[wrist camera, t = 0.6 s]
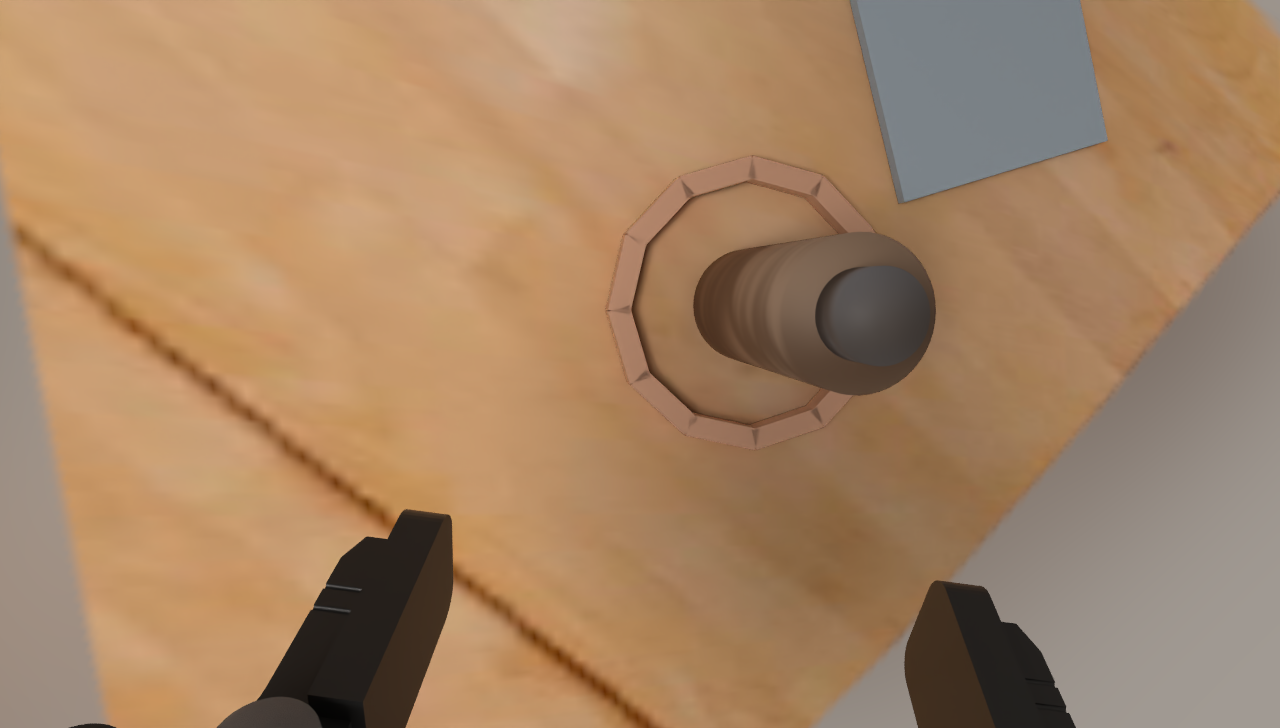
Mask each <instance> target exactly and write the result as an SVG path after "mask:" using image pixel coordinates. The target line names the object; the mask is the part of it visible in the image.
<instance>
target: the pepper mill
mask: <svg viewBox="0 0 1280 728" xmlns="http://www.w3.org/2000/svg"><path fill="white" fill-rule="evenodd" d="M693 308H694V316H695V321H696V324H697V327H698V329H699V331H700V333H701V335H702V336H703V338H704V339H705V341H706V342H707V343H708V344H709V345H710V346H711V347H712V348H713V349H714V350H716V351H717V352H719V353H720V354H722V355H724V356H727V357H729V358H732V359H735V360H738V361H741V362H744V363H747V364H750V365H754V366H757V367H760V368H763V369H766V370H769V371H772V372H775V373H778V374H781V375H784V376H787V377H790V378H793V379H796V380H799V381H802V382H805V383H808V384H811V385H814V386H817V387H820V388H823V389H826V390H829V391H833V392H836V393H839V394H845V395H867V394H872V393H876V392H880V391H882V390H885V389H887V388H889V387H891V386H893V385H894V384H896V383H898V382H899V381H901V380H902V379H903V378H904V377H906V376H907V375H908V374H909V373H910V372H911V371H912V370H913V369H914V368H915V366H916V365H917V364H918V363H919V361H920V360H921V358H922V357H923V355H924V353H925V352H926V349H927V347H928V345H929V343H930V340H931V337H932V334H933V329H934V324H935V314H936V308H935V297H934V292H933V288H932V285H931V281H930V279H929V277H928V275H927V272H926V271H925V269H924V267H923V266H922V264H921V262H920V261H919V260H918V259H917V258H916V256H915V255H914V254H913V253H912V252H911V251H910V250H909V249H907V248H906V247H905V246H903V245H902V244H901V243H899V242H897V241H896V240H894V239H892V238H890V237H887V236H884V235H881V234H877V233H872V232H851V233H844V234H838V235H832V236H825V237H819V238H813V239H806V240H800V241H794V242H787V243H781V244H775V245H768V246H762V247H756V248H749V249H743V250H737V251H733V252H730V253H728V254H725V255H723V256H722V257H720V258H718V259H717V260H716V261H714V262H713V263H712V264H711V265H710V266H709V267H708V268H707V269H706V271H705V272H704V273H703V275H702V277H701V278H700V280H699V282H698V285H697V287H696V291H695V295H694V305H693Z"/></svg>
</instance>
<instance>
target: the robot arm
mask: <svg viewBox="0 0 1280 728" xmlns="http://www.w3.org/2000/svg"><path fill="white" fill-rule="evenodd" d="M452 590H453V549H452V520H451V516H450V515H446V514H439V513H431V512H423V511H416V510H408V509H406V510H404V511H403V512H402V513H401V514H400V516H399V518H398V520H397V522H396V524H395V526H394V528H393V530H392V532H391V533H390V535H389V537H388V539H382V538H374V537H366V538H364V539H363V540H362V541H361V542H359V543H358V544H357V545H356V546H355V547H353V548H352V549H351V550H350V551H348V552H347V553H346V554H345V555H344V556H342V557H341V559H340V560H339V562H338V564H337V565H336V567H335V569H334V571H333V572H332V574H331V576H330V578H329V579H328V581H327V583H326V587H325V589H323V590H322V591H321V593H320V595H319V597H318V598H317V600H316V602H315V604H314V608H313V610H311V611H310V612H309V614H308V616H307V617H306V619H305V621H304V623H303V624H302V626H301V628H300V630H299V631H298V633H297V635H296V637H295V638H294V640H293V642H292V643H291V645H290V647H289V649H288V650H287V652H286V654H285V656H284V657H283V659H282V661H281V663H280V664H279V666H278V668H277V669H276V671H275V673H274V675H273V676H272V678H271V680H270V682H269V683H268V685H267V687H266V689H265V690H264V691H263V693H262V694H261V696H260V697H259V698H258V700H257V701H255V702H252V703H250V704H248V705H246V706H243V707H242V708H240V709H238V710H237V711H235V712H233V713H232V714H231V715H230V716H228V717H227V718H226V719H225V720H224V721H223V722H222V723H221V724H220V725H219V726H218V727H217V728H405V727H406V725H407V722H408V719H409V717H410V714H411V711H412V709H413V706H414V703H415V701H416V698H417V695H418V693H419V690H420V687H421V685H422V682H423V679H424V677H425V674H426V671H427V669H428V666H429V663H430V661H431V658H432V655H433V653H434V650H435V647H436V645H437V642H438V639H439V637H440V634H441V631H442V629H443V626H444V623H445V620H446V618H447V614H448V611H449V607H450V602H451V597H452ZM905 678H906V683H907V687H908V690H909V694H910V698H911V702H912V705H913V710H914V713H915V717H916V721H917V725H918V728H1076V727H1075V725H1074V723H1073V720H1072V718H1071V716H1070V714H1069V713H1066V705H1065V703H1064V701H1063V699H1062V696H1061V694H1060V692H1059V690H1058V688H1055V686H1054V683H1055V681H1054V679H1053V677H1052V675H1051V672H1050V671H1049V668H1048V666H1047V664H1046V662H1045V659H1044V657H1043V655H1042V653H1041V651H1040V650H1039V649H1038V648H1037V647H1036V646H1035V644H1034V643H1033V642H1032V641H1031V640H1030V639H1029V638H1028V637H1027V635H1026V634H1025V633H1024V632H1023V631H1022V630H1021V629H1020V628H1019V627H1018V625H1017V624H1014V623H1005V622H1001V620H1000V618H999V616H998V613H997V611H996V609H995V606H994V604H993V601H992V600H991V597H990V595H989V593H988V591H987V590H986V589H985V588H984V587H982V586H975V585H968V584H960V583H953V582H945V581H934V582H933V583H932V584H931V586H930V588H929V590H928V593H927V595H926V598H925V600H924V602H923V605H922V607H921V610H920V612H919V615H918V617H917V620H916V622H915V625H914V627H913V630H912V632H911V635H910V637H909V640H908V642H907V646H906V651H905ZM70 728H116V727H113V726H110V725H105V724H84V725H78V726H74V727H70Z"/></svg>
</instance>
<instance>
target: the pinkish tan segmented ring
mask: <svg viewBox="0 0 1280 728" xmlns="http://www.w3.org/2000/svg"><path fill="white" fill-rule="evenodd" d="M822 176H823V175H821V174H817V173H813V172H810V171H806V170H803V169H799V168H796V167H792V166H789V165H785V164H781V163H778V162H774V161H771V160H767V159H764V158H760V157H757V156H748V157H744V158H741V159H737V160H734V161H730V162H727V163H723V164H720V165H716V166H713V167H710V168H706V169H703V170H699V171H696V172H692V173H689V174H685V175H682V176H679V177H678V178H676V179H675V180H673V181H672V182H671V184H670V185H669V186H668V187H667V188H666V189H665V190H664V191H663V192H662V193H661V194H660V195H659V196H658V198H657V199H656V200H655V201H654V202H653V203H652V204H651V205H650V206H649V207H648V208H647V209H646V210H645V211H644V213H643V214H642V215H641V216H640V217H639V218H638V219H637V220H636V221H635V222H634V223H633V224H632V225H631V226H630V228H629V229H628V230H627V231H626V232H625V233H624V234H623V236H622V239H621V244H620V248H619V252H618V257H617V261H616V265H615V270H614V274H613V278H612V283H611V287H610V291H609V296H608V300H607V304H606V309H607V311H606V314H607V318H608V321H609V324H610V328H611V331H612V334H613V338H614V341H615V344H616V348H617V351H618V354H619V358H620V361H621V364H622V368H623V371H624V374H625V377H626V381H627V382H628V384H629V385H630V386H632V387H633V388H634V389H635V390H636V391H637V392H638V393H639V394H640V395H641V396H642V397H643V398H644V399H646V400H647V401H648V402H649V403H650V404H651V405H652V406H653V407H654V408H655V409H656V410H657V411H659V412H660V413H661V414H662V415H663V416H664V417H665V418H666V419H667V420H668V421H669V422H670V423H671V424H673V425H674V426H675V427H676V428H677V429H678V430H679V431H680V432H681V433H682V434H684V435H685V436H689V437H694V438H699V439H703V440H708V441H713V442H718V443H723V444H727V445H732V446H737V447H742V448H747V449H751V450H755V449H756V450H759V449H761V448H764V447H767V446H770V445H773V444H776V443H779V442H782V441H785V440H788V439H791V438H794V437H797V436H800V435H803V434H806V433H809V432H812V431H815V430H818V429H820V428H823V426H826V425H827V424H828V423H829V421H830V420H831V419H832V418H833V417H834V416H835V415H836V414H837V413H838V412H839V410H840V409H841V408H842V407H843V406H844V405H845V404H846V403H847V402H848V400H849V399H850V398H851V397H852V396H853V395H845V394H839V393H836V392H833V391H829V390H826V389H823V388H822V389H821V390H820V391H819V392H818V393H817V394H816V395H815V396H814V397H813V398H812V400H811V401H810V402H809V403H808V404H807V405H806V406H804V407H801V408H798V409H795V410H792V411H789V412H786V413H783V414H780V415H777V416H774V417H771V418H768V419H765V420H762V421H759V422H756V423H753V424H750V425H748V424H743V423H739V422H734V421H729V420H725V419H720V418H715V417H711V416H706V415H701V414H697V413H692V412H691V411H690V410H689V409H688V408H687V407H686V406H685V405H684V404H682V403H681V402H680V401H679V400H678V399H677V398H676V397H675V396H674V395H673V394H672V393H671V392H670V391H669V390H668V389H666V388H665V387H664V386H663V385H662V384H661V383H660V382H659V381H658V380H657V379H656V378H655V377H654V376H653V375H651V374H650V373H649V369H648V366H647V363H646V359H645V356H644V352H643V349H642V346H641V342H640V339H639V336H638V332H637V329H636V325H635V322H634V319H633V315H632V312H631V307H632V303H633V299H634V295H635V290H636V286H637V282H638V277H639V273H640V269H641V265H642V260H643V256H644V252H645V247H646V245H647V243H648V242H649V241H650V240H651V239H652V238H653V237H654V236H655V235H656V234H657V233H658V232H659V231H660V230H661V228H662V227H663V226H664V225H665V224H666V223H667V222H668V221H669V220H670V219H671V218H672V217H673V216H674V214H675V213H676V212H677V211H678V210H679V209H680V208H681V207H682V206H683V205H684V204H685V203H686V202H687V200H688V199H689V198H692V197H695V196H699V195H702V194H706V193H709V192H712V191H716V190H719V189H723V188H726V187H730V186H733V185H736V184H740V183H743V182H749V183H752V184H756V185H760V186H763V187H767V188H770V189H774V190H778V191H781V192H785V193H789V194H792V195H796V196H800V197H803V198H805V199H806V200H807V201H808V202H809V203H810V204H811V205H812V206H813V207H814V208H815V209H816V210H817V211H818V212H819V213H820V214H821V216H822V217H823V218H824V219H825V220H826V221H827V222H828V223H829V224H830V225H831V226H832V227H833V228H834V229H835V230H836V231H837V232H838V233H839V234H844V233H851V232H872V233H875V231H874V230H872V229H873V228H872V226H871V225H870V224H869V223H868V222H867V221H866V220H865V219H864V218H863V217H862V216H861V215H860V214H859V213H858V212H857V210H856V209H855V208H854V207H853V206H852V205H851V204H850V203H849V202H848V201H847V200H846V199H845V198H844V197H843V196H842V194H841V193H840V192H839V191H838V190H837V189H836V188H835V187H834V186H833V185H832V184H831V183H830V182H829V181H828V180H827V179H826V177H825V176H823V177H822Z"/></svg>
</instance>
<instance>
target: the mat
mask: <svg viewBox="0 0 1280 728" xmlns="http://www.w3.org/2000/svg"><path fill="white" fill-rule="evenodd" d="M850 3H851V8H852V12H853V16H854V20H855V24H856V28H857V33H858V37H859V41H860V45H861V49H862V53H863V58H864V62H865V66H866V70H867V74H868V78H869V83H870V87H871V91H872V95H873V99H874V103H875V108H876V112H877V116H878V120H879V124H880V128H881V133H882V137H883V141H884V145H885V149H886V153H887V158H888V162H889V166H890V170H891V174H892V178H893V183H894V187H895V191H896V195H897V199H898V203H903V202H907V201H910V200H914V199H917V198H920V197H924V196H927V195H930V194H934V193H937V192H940V191H943V190H947V189H950V188H953V187H957V186H960V185H963V184H966V183H970V182H973V181H976V180H980V179H983V178H986V177H989V176H993V175H996V174H999V173H1003V172H1006V171H1009V170H1013V169H1016V168H1019V167H1022V166H1026V165H1029V164H1032V163H1036V162H1039V161H1042V160H1045V159H1049V158H1052V157H1055V156H1059V155H1062V154H1065V153H1069V152H1072V151H1075V150H1078V149H1082V148H1085V147H1088V146H1092V145H1095V144H1098V143H1101V142H1105V141H1108V139H1107V134H1106V129H1105V124H1104V119H1103V114H1102V109H1101V104H1100V99H1099V94H1098V89H1097V84H1096V79H1095V74H1094V69H1093V64H1092V59H1091V54H1090V49H1089V43H1088V38H1087V33H1086V28H1085V23H1084V18H1083V13H1082V8H1081V3H1080V0H850Z"/></svg>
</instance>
